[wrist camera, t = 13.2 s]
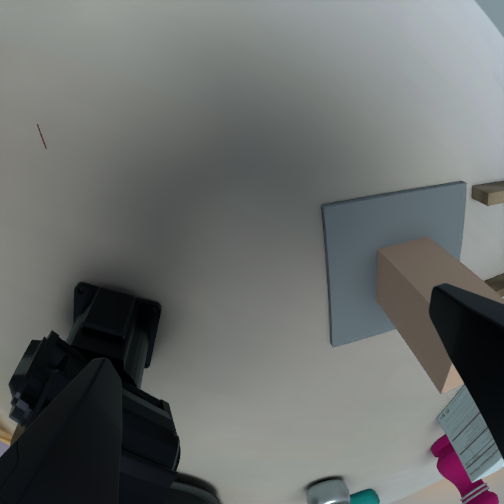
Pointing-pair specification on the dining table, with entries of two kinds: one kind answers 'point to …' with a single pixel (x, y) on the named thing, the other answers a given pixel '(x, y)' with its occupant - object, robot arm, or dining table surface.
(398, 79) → the dining table surface
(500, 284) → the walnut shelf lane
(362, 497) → the spray bottle
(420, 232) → the slate rubber mat
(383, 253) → the peach block
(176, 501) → the casserole
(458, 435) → the supplement box
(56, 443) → the robot arm
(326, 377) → the dining table surface
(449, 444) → the pepper mill
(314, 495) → the plastic bottle
